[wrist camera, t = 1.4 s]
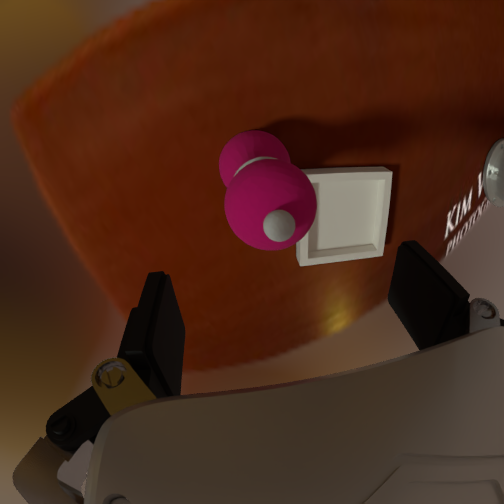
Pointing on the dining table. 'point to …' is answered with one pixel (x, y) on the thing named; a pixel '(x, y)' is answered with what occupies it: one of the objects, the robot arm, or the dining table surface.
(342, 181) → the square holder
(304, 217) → the pepper mill
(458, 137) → the dining table surface
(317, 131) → the dining table surface
